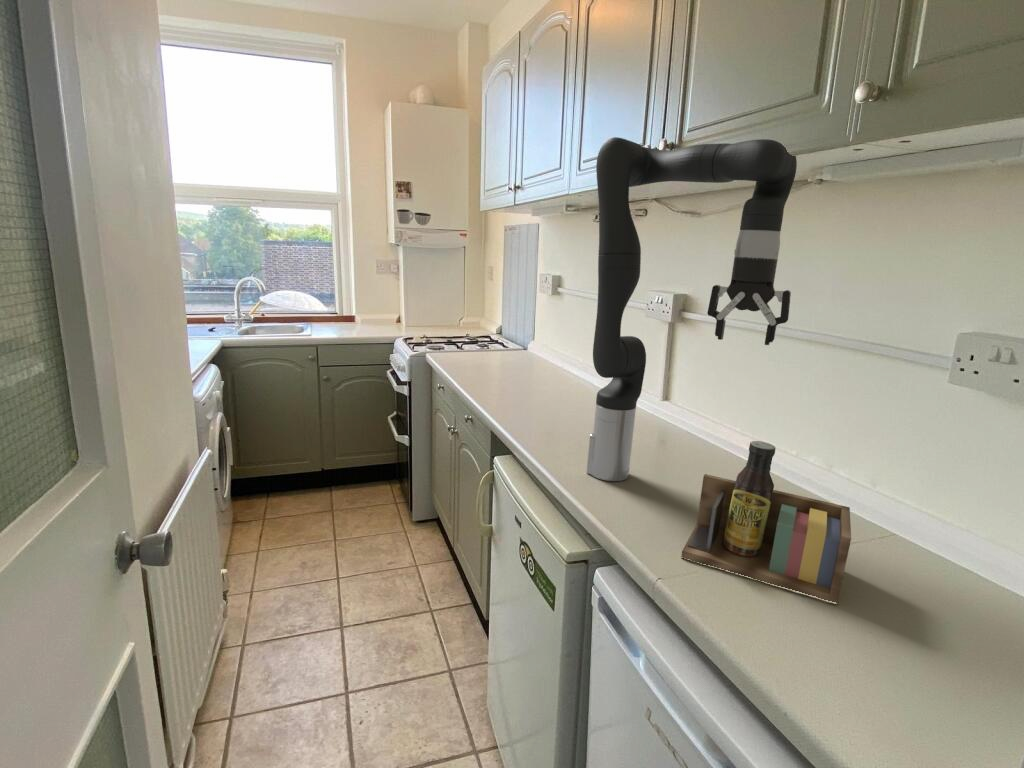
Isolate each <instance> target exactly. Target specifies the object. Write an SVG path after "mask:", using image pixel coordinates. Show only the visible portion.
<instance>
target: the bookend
mask: <svg viewBox="0 0 1024 768" xmlns="http://www.w3.org/2000/svg"><path fill="white" fill-rule="evenodd" d="M724 496H725V490H721V492H720V494H719V496H718V498H717V500H716V502H715V504H714V506H713V509H712V515H711V522H710V528H707V527H703V526H698V527H697V529H696V531H695V533H694V535H693V537H692V539H691V540H690V542H689V544H688V547H691V548H694V549H698V550H701V551H705V552H708V553H710V551H711V549H712V546H713V544H714V542H715V540H716V538H717V535H718V533H719V528H720V522H721V515H722V509H723V502H724Z"/></svg>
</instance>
